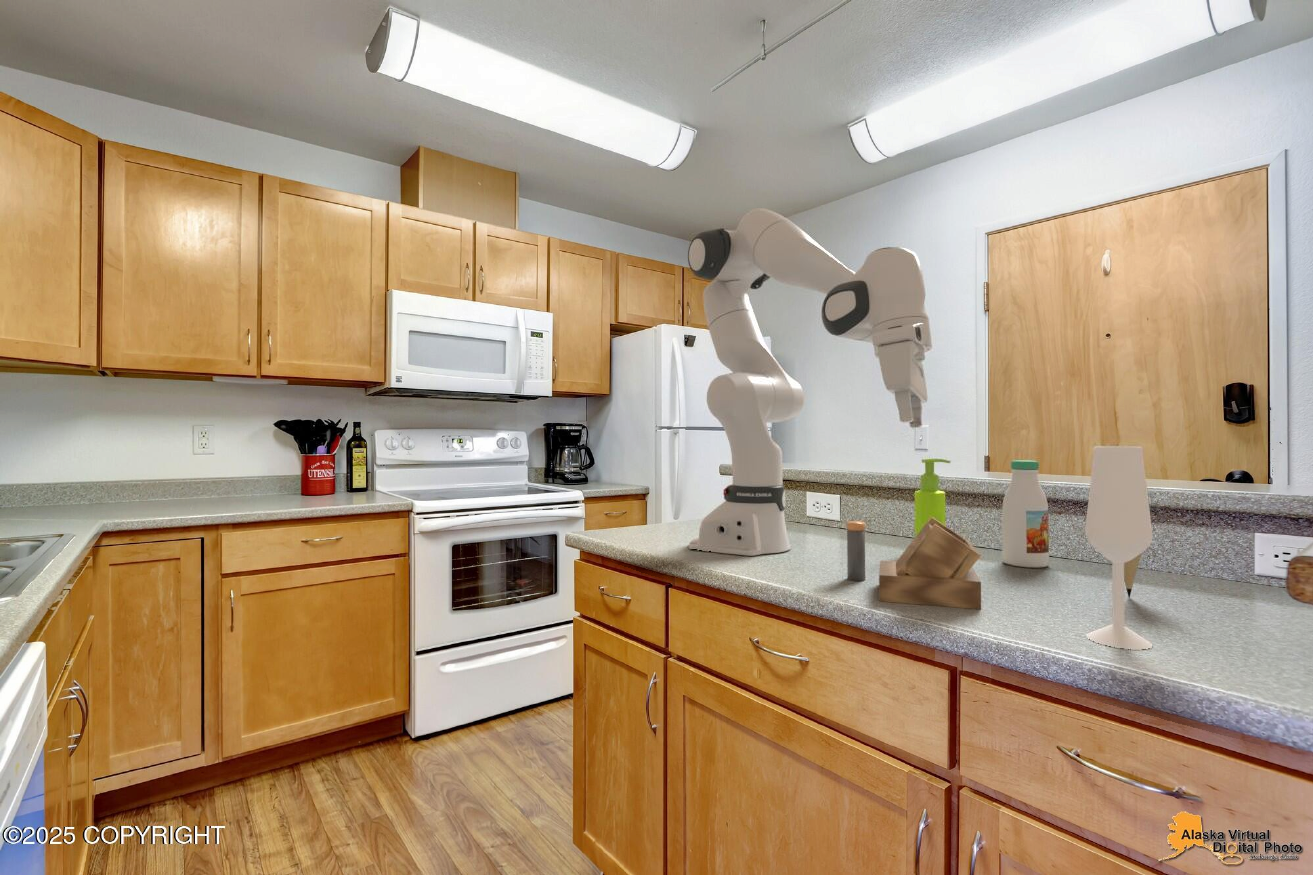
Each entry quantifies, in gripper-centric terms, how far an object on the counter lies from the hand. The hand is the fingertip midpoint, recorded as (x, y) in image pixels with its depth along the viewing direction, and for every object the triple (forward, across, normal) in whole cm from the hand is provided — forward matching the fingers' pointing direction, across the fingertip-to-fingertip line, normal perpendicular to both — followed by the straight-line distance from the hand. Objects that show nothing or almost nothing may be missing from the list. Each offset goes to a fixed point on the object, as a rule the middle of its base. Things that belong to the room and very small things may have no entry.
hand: (911, 425), depth 101 cm
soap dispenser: (+24, -36, -4) cm, 43 cm away
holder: (+27, -1, -1) cm, 27 cm away
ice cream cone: (+29, -14, +26) cm, 42 cm away
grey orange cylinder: (+25, -6, -13) cm, 29 cm away
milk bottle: (+26, -33, +13) cm, 44 cm away
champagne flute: (+31, +10, +22) cm, 40 cm away
